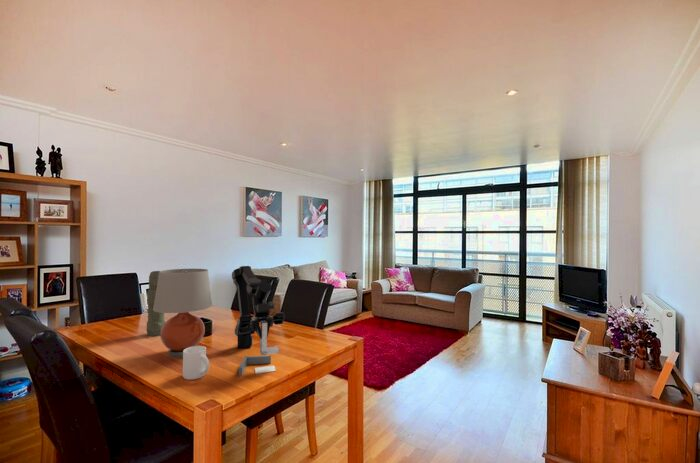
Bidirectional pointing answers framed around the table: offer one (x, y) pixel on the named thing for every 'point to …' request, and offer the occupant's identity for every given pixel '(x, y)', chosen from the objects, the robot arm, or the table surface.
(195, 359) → the mug
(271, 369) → the plate
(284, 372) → the table surface
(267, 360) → the corner wall
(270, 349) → the bracket
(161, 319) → the thermos
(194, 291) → the lamp
